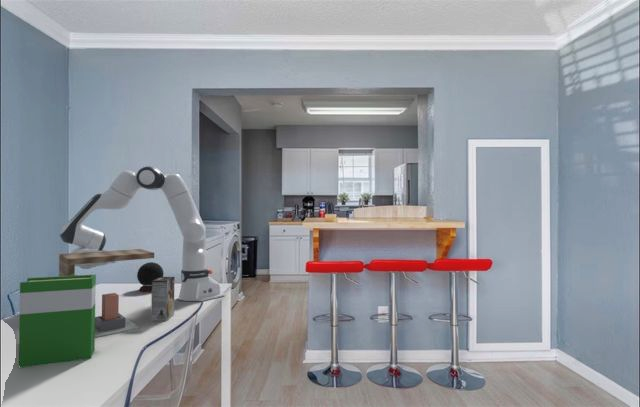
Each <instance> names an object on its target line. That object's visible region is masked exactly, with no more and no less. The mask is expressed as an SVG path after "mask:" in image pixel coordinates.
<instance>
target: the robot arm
mask: <svg viewBox="0 0 640 407" xmlns="http://www.w3.org/2000/svg"><path fill="white" fill-rule="evenodd" d="M185 182H186V181H185V180H184V179H183V178H182V176H181V175H180V174H178V173H169V174H164V172H162V170H160V169H159V168H157V167H154V166H147V165H146V166H143V167H141V168H140V169H139V170H138V171H137V172H134V171H133V170H127V169H126V170H123V171H121V172H120V173H119V174H118V175H117V177H116V178H115V179H114V180H113V182H112V183H111V185H110V186H109V188H108V189H107V190H106V191H104V192H102V193H97V194H95V195H93V197H91V198H90V199H89V200H88V201H87V202H86V203H85V204H84V205H83V207H82V208H81V209H80V210H79V211H78V212H77V213H76V214H75V215H74V216H73V217H72V218H71V219H70V220H69V221H68V222H66V224H64V225H63V227H62V228H61V230H60V233H59V236H60V239H61V240H62V242H64V243H65V244H70V245H74V246H77V247H74V249H72V250H71V251H70V253H86V252H102V251H106V250H105V249H104V247H105V246H106V242H107V239H106V235H105V233H104V232H103V231H100V230H98V229H95V228H92V227H89V226H86V225H84V224H83V223H84V222H85V221H86V220H87V219H88V217H89V216H91V214H92V213H93V212H95V211H96V210H103V209H104V210H105V209H106V210H121V209H125V208H126V207H128V205H129V204H130V203H131V202H132V200H133V198H134V197H135V195H136V194H137V192H138V191H139V190H140V189H146V190H149V191H154V190H155V191H156V190H159V189H160V190H161V191H162V192H163V193H164V196H165V197H166V199H167V202H168V204H169V206H170V209H171V211H172V212H173V216H174V218H175V220H176V223H177V225H178V226H177V227H179V231H180V233H181V236H182V237H183V238H182V239H183V240H182V255H181V256H182V258H181V260H182V261H181V262H182V268H181V271H180V282H181V283H180V284H181V286H180V291H179V295H178V297H177V298H178V300H180V301H186V302H203V301H204V302H205V301H208V300H212V299H216V298H217V299H218V298H222V297H225V295H226V294H225V292H223V291H221V287H220V286H221V285H220V283H219V282H218V281H216V280H215V279H214V278H213V277H211V276H209V275H212V274H213V270H211V269H207V268H206V259H207V258H206V257H207V256H206V254H207V253H206V248H207V226H206V225H205V224H204V222H203V220H202V217H201V216H200V212H199V210H198V207H197V205H196V204H195V201H194V199H193V196H192V195H191V192H190V190H189V188H188V186H187V184H186V183H185ZM115 263H117V261H111V262H99V263H86V264H75V267H78V268H80V269H83V270H89V269H92V268H96V267H99V266H105V265H109V264H115Z"/></svg>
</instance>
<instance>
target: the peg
mask: <svg viewBox="0 0 640 407" xmlns="http://www.w3.org/2000/svg"><path fill="white" fill-rule="evenodd" d="M119 298H120V295H119V294H118V293H117V292H111V293H103V294H102V295H101V316H102V320H103V321H105V320H111V319H117V318H118V313H119V304H120V303H119V300H120V299H119Z"/></svg>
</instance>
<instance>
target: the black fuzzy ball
mask: <svg viewBox="0 0 640 407" xmlns="http://www.w3.org/2000/svg"><path fill="white" fill-rule="evenodd" d="M136 276H137V281H138V282H139V284H140V285H142V286H140V287H139V289H138V292H139V291H140V293H152V281H153V280H155V279H157V278H159V277H164V269H163V268H162V266H161V265H160V264H158V263H156V262H151V261H150V262H145V263H144V264H142V265H141V266H140V267H139V269H138V270H137V273H136Z"/></svg>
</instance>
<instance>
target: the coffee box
mask: <svg viewBox="0 0 640 407" xmlns="http://www.w3.org/2000/svg"><path fill="white" fill-rule="evenodd" d="M150 304H151V306H150V307H151V308H150V309H151V310H150V311H151V314H150V315H151V319H150V320H151V322H157V321H162V322H163V321H168V320H169V319H170V318H171V317H173V316H174V315H175V276H163V277H159V278H157V279H155V280H153V281H152V292H151V303H150Z"/></svg>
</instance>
